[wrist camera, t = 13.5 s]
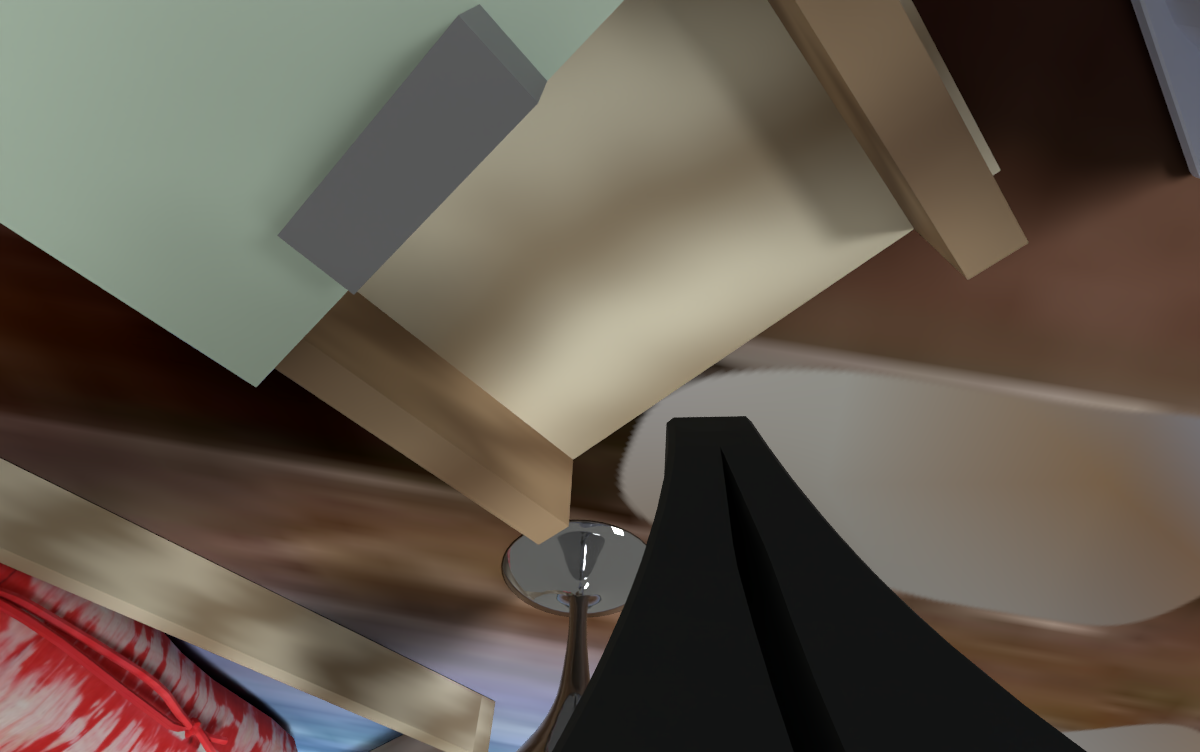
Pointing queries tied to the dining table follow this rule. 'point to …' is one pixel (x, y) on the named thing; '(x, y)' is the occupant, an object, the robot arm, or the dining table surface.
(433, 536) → the dining table surface
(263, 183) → the slide cover
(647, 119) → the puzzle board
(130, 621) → the water bottle
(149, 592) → the bottle frame
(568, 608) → the wine glass
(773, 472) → the robot arm
